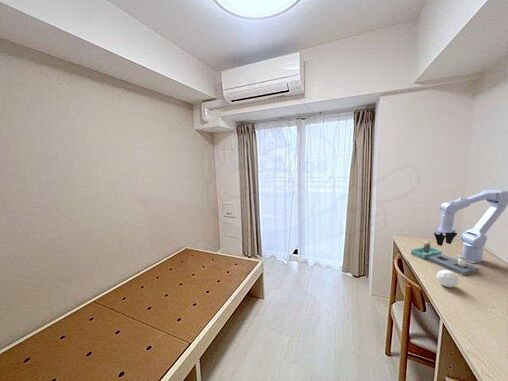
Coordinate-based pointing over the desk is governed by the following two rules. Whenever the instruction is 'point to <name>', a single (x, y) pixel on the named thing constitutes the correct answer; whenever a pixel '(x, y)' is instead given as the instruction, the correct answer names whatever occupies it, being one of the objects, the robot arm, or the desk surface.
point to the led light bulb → (426, 247)
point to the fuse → (461, 261)
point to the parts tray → (419, 253)
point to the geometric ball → (447, 278)
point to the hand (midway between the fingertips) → (444, 244)
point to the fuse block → (452, 264)
